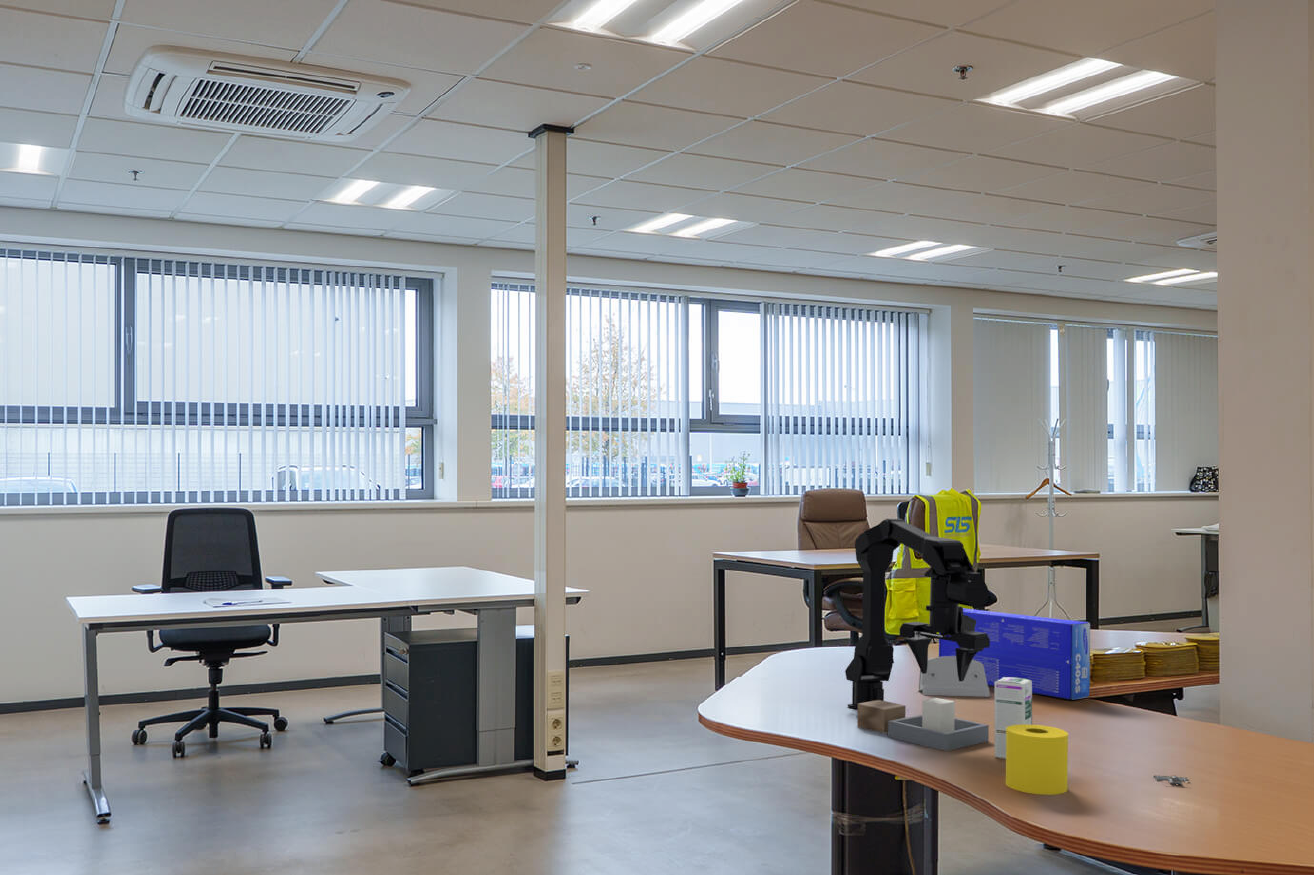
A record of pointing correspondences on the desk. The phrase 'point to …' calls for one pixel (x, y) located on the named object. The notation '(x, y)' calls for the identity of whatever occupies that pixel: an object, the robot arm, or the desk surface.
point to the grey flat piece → (1171, 779)
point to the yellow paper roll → (1036, 759)
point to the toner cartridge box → (1033, 652)
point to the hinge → (953, 678)
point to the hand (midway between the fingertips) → (942, 677)
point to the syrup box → (1011, 708)
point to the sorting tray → (938, 733)
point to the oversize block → (878, 715)
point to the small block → (938, 714)
